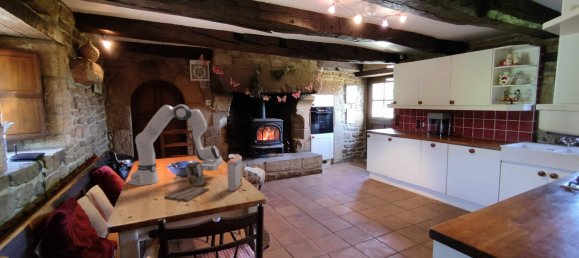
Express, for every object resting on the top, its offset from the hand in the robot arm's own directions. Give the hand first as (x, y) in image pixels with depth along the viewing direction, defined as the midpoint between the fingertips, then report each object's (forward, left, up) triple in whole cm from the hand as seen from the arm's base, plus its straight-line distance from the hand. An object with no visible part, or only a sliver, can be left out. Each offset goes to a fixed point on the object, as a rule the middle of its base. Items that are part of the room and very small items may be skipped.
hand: (197, 168), depth 202 cm
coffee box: (0, 0, -11) cm, 11 cm away
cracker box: (+30, +1, -12) cm, 33 cm away
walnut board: (+6, -20, -12) cm, 24 cm away
